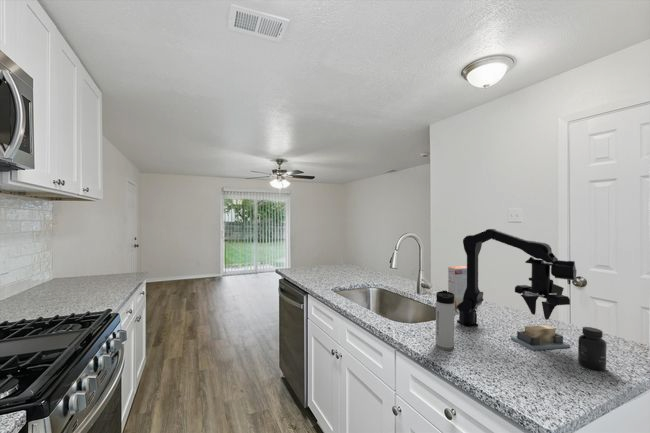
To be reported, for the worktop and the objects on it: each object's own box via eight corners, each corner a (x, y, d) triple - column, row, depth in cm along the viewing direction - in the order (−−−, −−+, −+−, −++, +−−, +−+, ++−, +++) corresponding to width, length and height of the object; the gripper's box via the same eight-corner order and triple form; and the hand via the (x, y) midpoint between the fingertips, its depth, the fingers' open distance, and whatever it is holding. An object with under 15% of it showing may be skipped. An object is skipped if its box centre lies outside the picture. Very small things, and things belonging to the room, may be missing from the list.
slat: (532, 343, 112) (532, 329, 112) (524, 339, 115) (524, 326, 115) (555, 341, 114) (555, 328, 114) (546, 337, 117) (547, 325, 117)
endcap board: (533, 350, 108) (533, 340, 108) (511, 339, 118) (511, 330, 118) (570, 347, 111) (570, 337, 111) (545, 336, 121) (545, 327, 121)
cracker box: (468, 303, 167) (469, 265, 167) (477, 306, 161) (477, 267, 161) (447, 304, 163) (447, 266, 163) (455, 308, 157) (455, 268, 157)
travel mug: (453, 344, 112) (453, 291, 112) (454, 352, 106) (455, 295, 106) (435, 341, 114) (436, 289, 114) (435, 349, 108) (436, 293, 108)
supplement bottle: (608, 374, 92) (609, 335, 92) (580, 367, 96) (580, 330, 96) (603, 364, 98) (603, 328, 98) (576, 359, 102) (576, 323, 102)
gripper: (583, 280, 107) (582, 324, 107) (537, 271, 125) (536, 308, 125) (556, 281, 105) (556, 326, 105) (513, 271, 123) (513, 309, 123)
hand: (540, 316), depth 114 cm, fingers open, 5 cm apart
